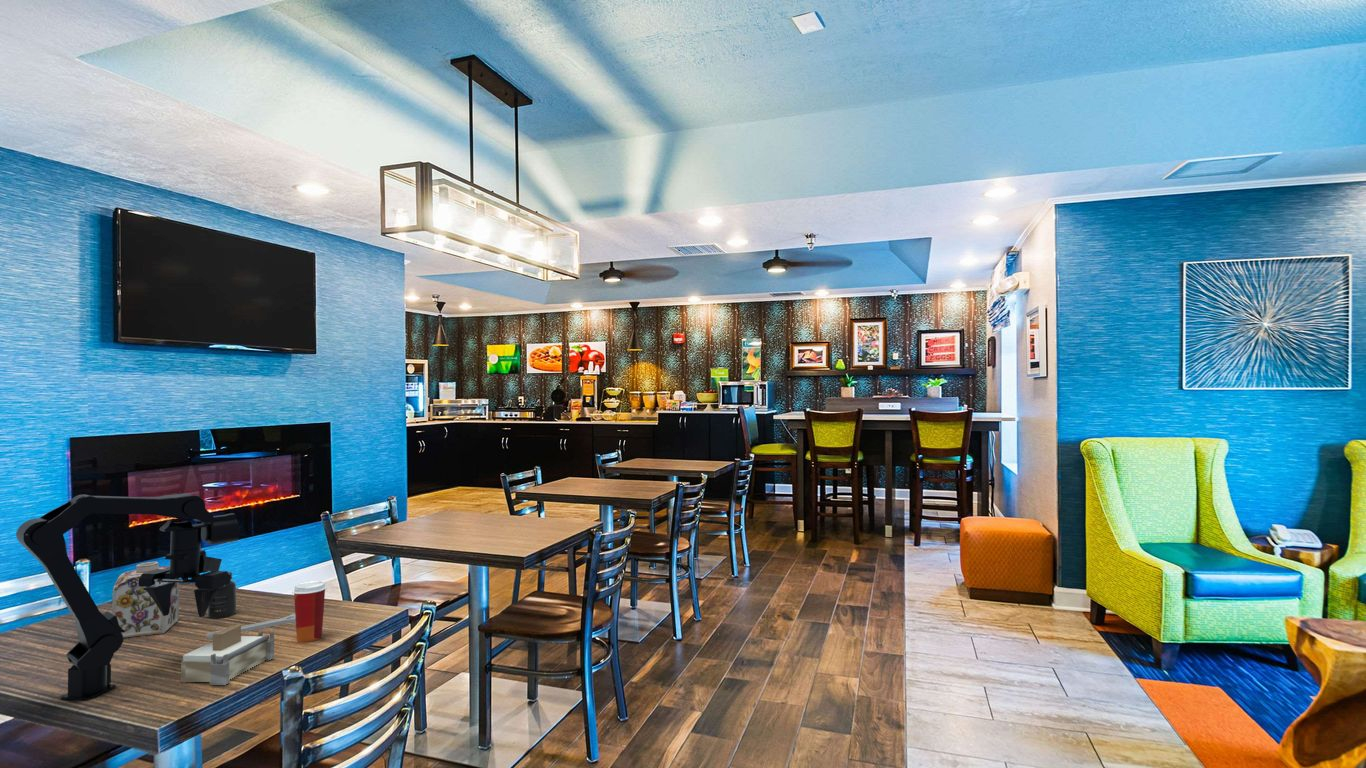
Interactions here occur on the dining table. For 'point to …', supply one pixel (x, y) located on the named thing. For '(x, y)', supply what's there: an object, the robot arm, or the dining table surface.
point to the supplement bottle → (223, 601)
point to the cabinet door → (225, 645)
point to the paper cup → (309, 610)
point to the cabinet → (227, 664)
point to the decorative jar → (142, 604)
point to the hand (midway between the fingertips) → (183, 616)
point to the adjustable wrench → (262, 625)
